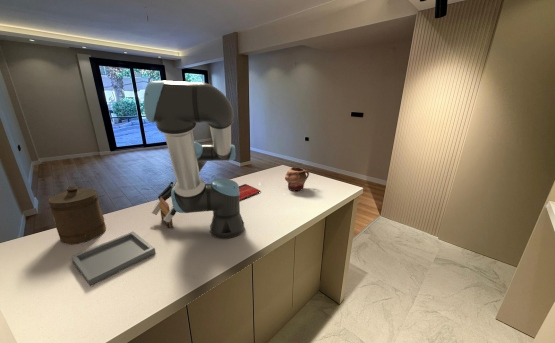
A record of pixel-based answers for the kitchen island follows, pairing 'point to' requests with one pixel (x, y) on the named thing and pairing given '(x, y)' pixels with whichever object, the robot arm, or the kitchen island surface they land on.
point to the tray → (111, 257)
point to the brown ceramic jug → (296, 178)
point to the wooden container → (77, 215)
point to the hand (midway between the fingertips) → (159, 217)
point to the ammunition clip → (165, 212)
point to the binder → (247, 191)
